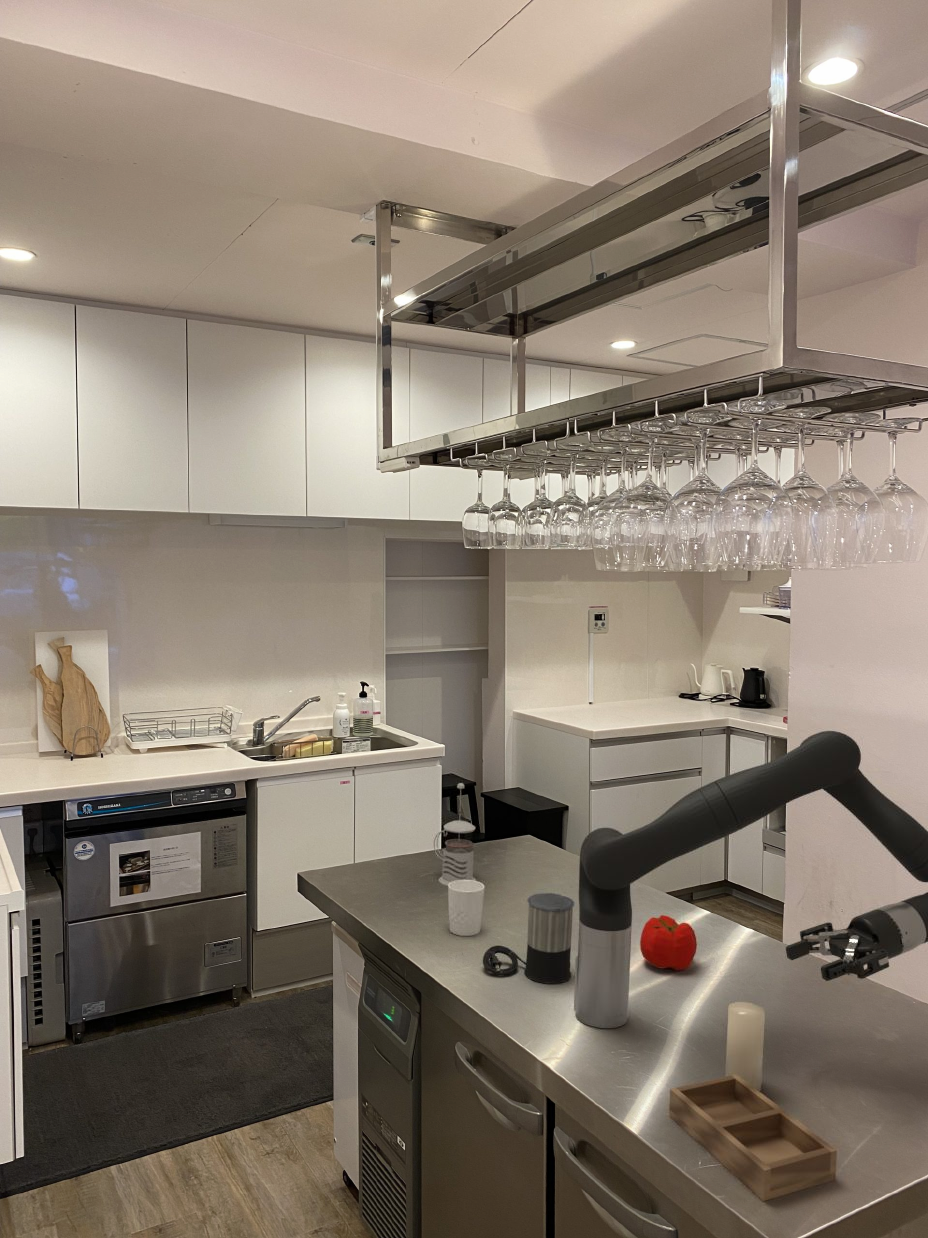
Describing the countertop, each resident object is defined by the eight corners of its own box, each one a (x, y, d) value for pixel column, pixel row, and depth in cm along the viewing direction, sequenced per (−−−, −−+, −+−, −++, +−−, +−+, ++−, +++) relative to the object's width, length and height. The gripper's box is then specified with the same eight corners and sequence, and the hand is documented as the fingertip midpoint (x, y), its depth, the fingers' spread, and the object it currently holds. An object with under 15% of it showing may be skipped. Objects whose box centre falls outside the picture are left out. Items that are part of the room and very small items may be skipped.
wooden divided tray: (669, 1116, 138) (670, 1089, 138) (735, 1100, 143) (736, 1074, 142) (763, 1201, 119) (764, 1170, 119) (835, 1180, 124) (836, 1150, 124)
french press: (466, 889, 233) (470, 789, 232) (425, 881, 238) (428, 783, 237) (483, 878, 242) (486, 782, 241) (442, 871, 247) (445, 776, 246)
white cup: (463, 940, 201) (464, 894, 200) (439, 929, 207) (440, 884, 206) (490, 932, 206) (491, 887, 206) (466, 921, 212) (467, 877, 212)
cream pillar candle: (717, 1079, 148) (721, 1005, 148) (745, 1073, 150) (748, 999, 150) (740, 1097, 143) (744, 1020, 143) (768, 1091, 146) (772, 1015, 145)
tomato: (627, 960, 193) (629, 917, 193) (671, 950, 199) (673, 908, 199) (663, 981, 184) (665, 935, 184) (708, 969, 190) (710, 925, 190)
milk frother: (581, 980, 183) (584, 905, 183) (512, 995, 176) (515, 917, 175) (540, 953, 196) (543, 882, 195) (474, 966, 188) (476, 893, 187)
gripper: (853, 896, 159) (772, 926, 154) (917, 924, 146) (831, 958, 141) (860, 938, 160) (780, 969, 155) (925, 970, 146) (839, 1005, 142)
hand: (804, 964), depth 148 cm, fingers open, 8 cm apart
